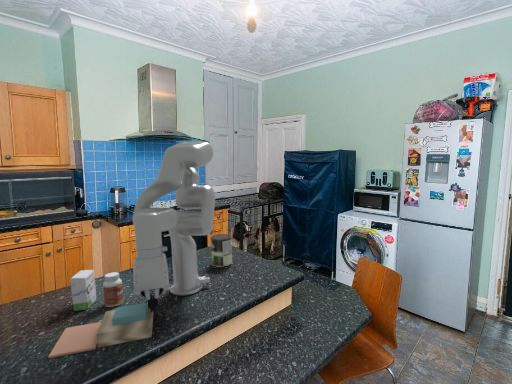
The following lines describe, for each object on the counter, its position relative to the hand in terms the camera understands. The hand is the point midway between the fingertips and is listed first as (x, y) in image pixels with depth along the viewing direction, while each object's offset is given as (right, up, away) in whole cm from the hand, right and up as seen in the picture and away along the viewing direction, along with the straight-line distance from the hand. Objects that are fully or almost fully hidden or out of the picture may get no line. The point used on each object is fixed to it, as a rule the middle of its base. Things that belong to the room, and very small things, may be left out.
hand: (153, 309), depth 89 cm
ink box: (-30, -5, +16) cm, 34 cm away
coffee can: (+15, 0, +54) cm, 56 cm away
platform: (-7, -6, -2) cm, 9 cm away
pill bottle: (-20, -5, +16) cm, 26 cm away
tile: (-6, -2, -2) cm, 7 cm away
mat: (-19, -6, -6) cm, 21 cm away
